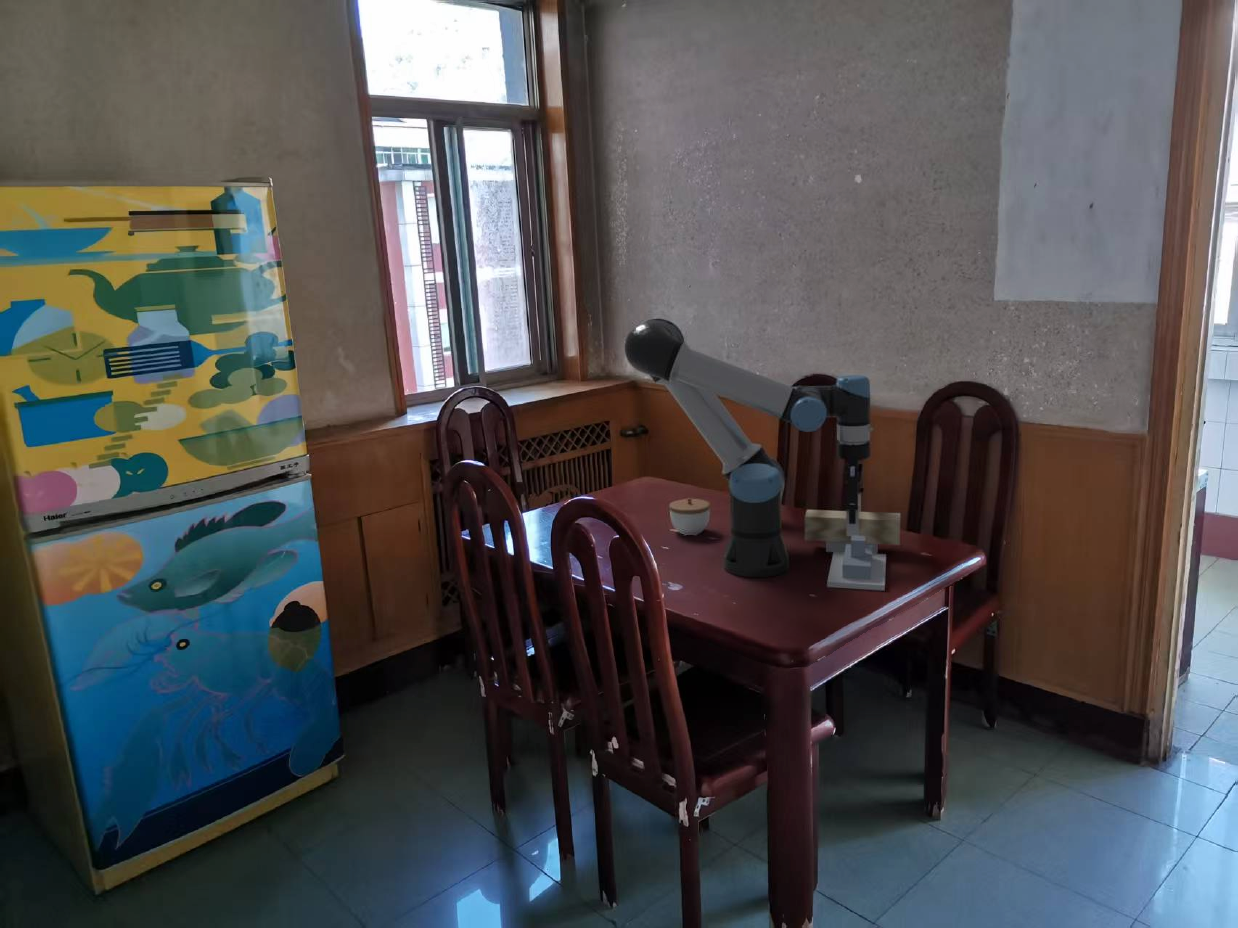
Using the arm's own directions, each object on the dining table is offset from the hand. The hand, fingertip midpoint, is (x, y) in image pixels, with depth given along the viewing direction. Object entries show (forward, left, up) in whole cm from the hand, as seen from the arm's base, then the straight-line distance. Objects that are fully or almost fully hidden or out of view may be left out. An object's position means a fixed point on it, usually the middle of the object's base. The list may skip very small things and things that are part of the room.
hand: (854, 527), depth 212 cm
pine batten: (0, 0, -3) cm, 3 cm away
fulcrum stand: (+2, -15, -6) cm, 16 cm away
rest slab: (0, 0, -6) cm, 6 cm away
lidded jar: (-42, +8, -6) cm, 44 cm away
